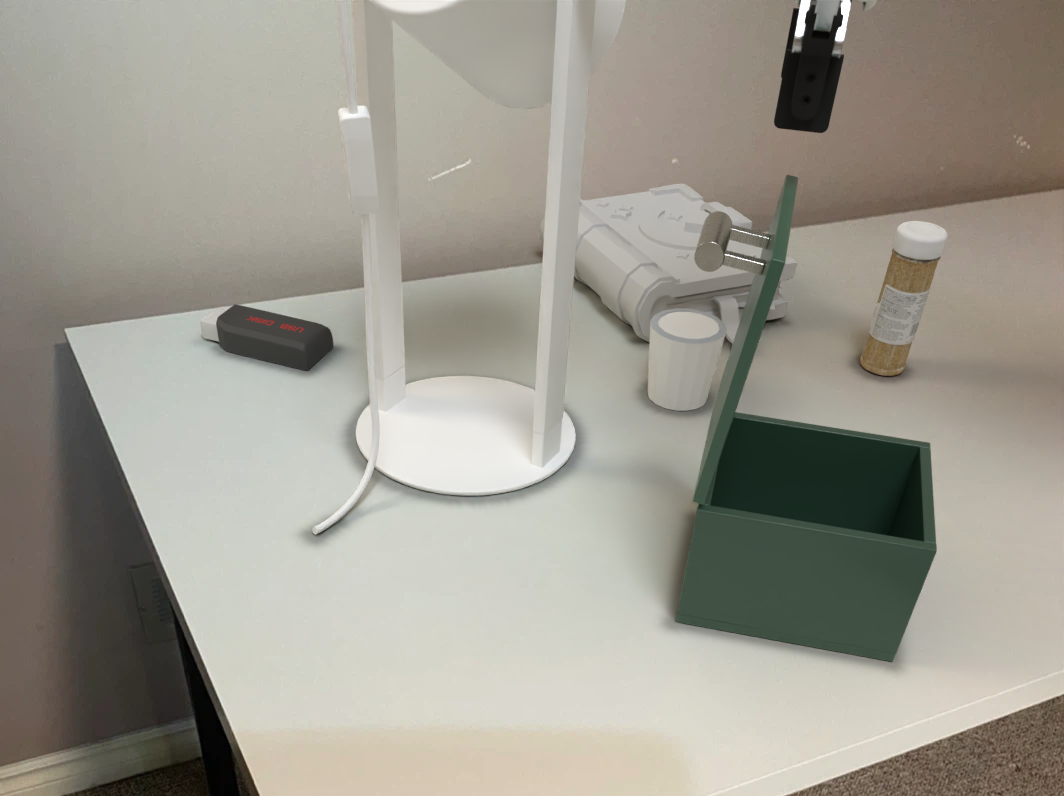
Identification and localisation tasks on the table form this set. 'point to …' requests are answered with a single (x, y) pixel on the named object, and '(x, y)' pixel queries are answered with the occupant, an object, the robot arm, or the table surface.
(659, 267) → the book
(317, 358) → the usb drive
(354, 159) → the desk lamp
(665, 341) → the white cup
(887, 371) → the sprinkles bottle
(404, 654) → the table surface
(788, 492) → the green box
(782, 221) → the lid
